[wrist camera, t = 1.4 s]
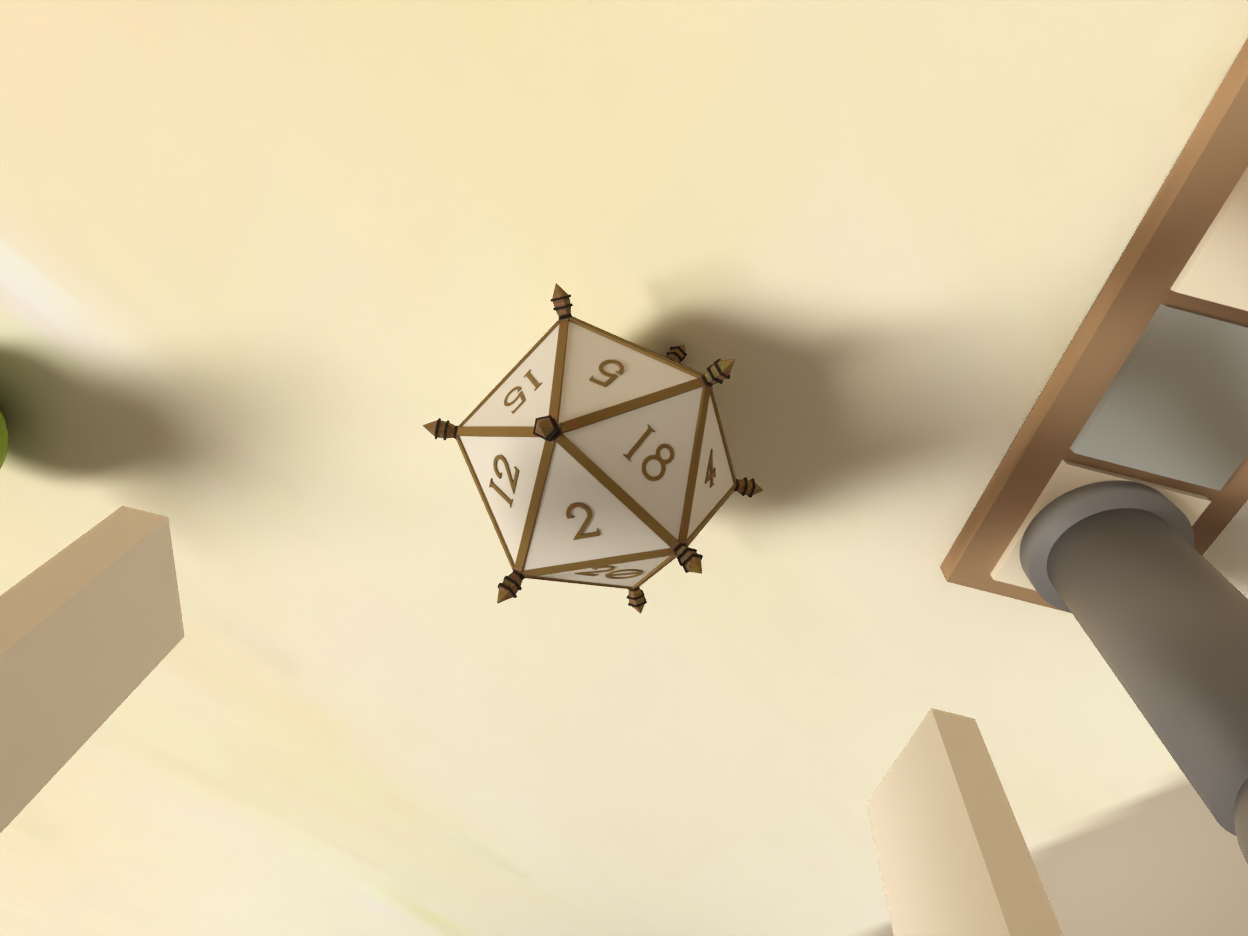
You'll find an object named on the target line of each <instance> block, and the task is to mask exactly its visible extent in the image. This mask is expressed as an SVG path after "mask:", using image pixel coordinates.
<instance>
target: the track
mask: <svg viewBox="0 0 1248 936" xmlns="http://www.w3.org/2000/svg"><path fill="white" fill-rule="evenodd" d="M1112 480H1122V481H1132V482H1137V483H1141V484H1144V485H1147V486H1150V487H1152V488H1154V489H1156V490H1157V491H1159V492H1160V493H1162V494H1163V495H1164V496H1165V497H1167V498H1168V499H1169V500H1170V501H1171V502H1172V503H1173V504H1174V505H1175V506H1177V507H1178V508H1179V509H1180V510H1181V511H1182V512H1183V513H1184V514H1185V515H1186V517H1187V518H1188V520H1189V521H1190V524H1191V526H1192V528H1193V533H1194V547H1193V548H1194V549H1195V550H1196V551H1197V552H1198V553H1199V554H1200V555H1201V556H1202V555H1203V554H1204V552H1205V551H1206V550H1207V549H1208V548H1209V546H1210V545H1211V544H1212V543H1213V541H1214V540H1215V539H1216V538H1217V536H1218V535H1219V534H1220V533H1221V532H1222V530H1223V529H1224V528H1225V527H1226V525H1227V524H1228V523H1229V522H1230V520H1231V519H1232V518H1233V517H1234V516H1235V514H1236V513H1237V512H1238V511H1239V509H1240V508H1241V507H1242V506H1243V505H1244V503H1245V502H1246V501H1247V500H1248V39H1247V41H1246V42H1245V44H1244V46H1243V47H1242V49H1241V51H1240V53H1239V54H1238V56H1237V58H1236V59H1235V61H1234V63H1233V65H1232V66H1231V68H1230V70H1229V72H1228V73H1227V75H1226V77H1225V78H1224V80H1223V82H1222V84H1221V85H1220V87H1219V89H1218V90H1217V92H1216V94H1215V96H1214V97H1213V99H1212V101H1211V102H1210V104H1209V106H1208V108H1207V109H1206V111H1205V113H1204V115H1203V116H1202V118H1201V120H1200V121H1199V123H1198V125H1197V127H1196V128H1195V130H1194V132H1193V133H1192V135H1191V137H1190V139H1189V140H1188V142H1187V144H1186V145H1185V147H1184V149H1183V151H1182V152H1181V154H1180V156H1179V158H1178V159H1177V161H1176V163H1175V164H1174V166H1173V168H1172V170H1171V171H1170V173H1169V175H1168V176H1167V178H1166V180H1165V182H1164V183H1163V185H1162V187H1161V188H1160V190H1159V192H1158V194H1157V195H1156V197H1155V199H1154V201H1153V202H1152V204H1151V206H1150V207H1149V209H1148V211H1147V213H1146V214H1145V216H1144V218H1143V219H1142V221H1141V223H1140V225H1139V226H1138V228H1137V230H1136V231H1135V233H1134V235H1133V237H1132V238H1131V240H1130V242H1129V243H1128V245H1127V247H1126V249H1125V250H1124V252H1123V254H1122V256H1121V257H1120V259H1119V261H1118V262H1117V264H1116V266H1115V268H1114V269H1113V271H1112V273H1111V274H1110V276H1109V278H1108V280H1107V281H1106V283H1105V285H1104V286H1103V288H1102V290H1101V292H1100V293H1099V295H1098V297H1097V299H1096V300H1095V302H1094V304H1093V305H1092V307H1091V309H1090V311H1089V312H1088V314H1087V316H1086V317H1085V319H1084V321H1083V323H1082V324H1081V326H1080V328H1079V329H1078V331H1077V333H1076V335H1075V336H1074V338H1073V340H1072V342H1071V343H1070V345H1069V347H1068V348H1067V350H1066V352H1065V354H1064V355H1063V357H1062V359H1061V360H1060V362H1059V364H1058V366H1057V367H1056V369H1055V371H1054V372H1053V374H1052V376H1051V378H1050V379H1049V381H1048V383H1047V384H1046V386H1045V388H1044V390H1043V391H1042V393H1041V395H1040V397H1039V398H1038V400H1037V402H1036V403H1035V405H1034V407H1033V409H1032V410H1031V412H1030V414H1029V415H1028V417H1027V419H1026V421H1025V422H1024V424H1023V426H1022V427H1021V429H1020V431H1019V433H1018V434H1017V436H1016V438H1015V440H1014V441H1013V443H1012V445H1011V446H1010V448H1009V450H1008V452H1007V453H1006V455H1005V457H1004V458H1003V460H1002V462H1001V464H1000V465H999V467H998V469H997V470H996V472H995V474H994V476H993V477H992V479H991V481H990V483H989V484H988V486H987V488H986V489H985V491H984V493H983V495H982V496H981V498H980V500H979V501H978V503H977V505H976V507H975V508H974V510H973V512H972V513H971V515H970V517H969V519H968V520H967V522H966V524H965V525H964V527H963V529H962V531H961V532H960V534H959V536H958V538H957V539H956V541H955V543H954V544H953V546H952V548H951V550H950V551H949V553H948V555H947V556H946V558H945V560H944V562H943V563H942V565H941V567H940V568H941V570H942V572H943V574H944V576H945V578H946V580H947V582H951V583H955V584H959V585H963V586H967V587H971V588H975V589H979V590H983V591H987V592H991V593H995V594H999V595H1003V596H1006V597H1010V598H1014V599H1018V600H1022V601H1026V602H1030V603H1034V604H1038V605H1042V606H1046V607H1050V608H1054V609H1058V610H1061V609H1059V608H1057V607H1054V606H1053V605H1051V604H1050V603H1048V602H1047V601H1045V600H1044V599H1043V598H1042V597H1041V596H1040V595H1039V594H1038V592H1037V591H1036V590H1035V588H1034V587H1033V585H1032V584H1031V582H1030V581H1029V579H1028V577H1027V576H1026V574H1025V572H1024V571H1023V568H1022V566H1021V562H1020V545H1021V540H1022V537H1023V535H1024V532H1025V530H1026V529H1027V527H1028V525H1029V524H1030V522H1031V521H1032V520H1033V518H1034V517H1035V516H1036V515H1037V514H1038V513H1039V512H1040V511H1041V510H1042V509H1043V508H1044V507H1045V506H1046V505H1047V504H1049V503H1050V502H1052V501H1053V500H1054V499H1056V498H1058V497H1059V496H1061V495H1063V494H1065V493H1066V492H1069V491H1071V490H1073V489H1075V488H1078V487H1081V486H1084V485H1087V484H1092V483H1096V482H1102V481H1112ZM1062 611H1064V610H1062ZM1065 612H1067V611H1065ZM1069 613H1071V612H1069Z"/></svg>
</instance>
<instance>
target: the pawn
mask: <svg viewBox="0 0 1248 936" xmlns="http://www.w3.org/2000/svg"><path fill="white" fill-rule="evenodd" d="M1193 547H1194V533H1193V528H1192V526H1191V524H1190V521H1189V520H1188V518H1187V517H1186V515H1185V514H1184V513H1183V512H1182V511H1181V510H1180V509H1179V508H1178V507H1177V506H1175V505H1174V504H1173V503H1172V502H1171V501H1170V500H1169V499H1168V498H1167V497H1165V496H1164V495H1163V494H1162V493H1160V492H1159V491H1157V490H1156V489H1154V488H1152V487H1150V486H1147V485H1144V484H1141V483H1137V482H1132V481H1122V480H1112V481H1102V482H1096V483H1092V484H1087V485H1084V486H1081V487H1078V488H1075V489H1073V490H1071V491H1069V492H1066V493H1065V494H1063V495H1061V496H1059V497H1058V498H1056V499H1054V500H1053V501H1052V502H1050V503H1049V504H1047V505H1046V506H1045V507H1044V508H1043V509H1042V510H1041V511H1040V512H1039V513H1038V514H1037V515H1036V516H1035V517H1034V518H1033V520H1032V521H1031V522H1030V524H1029V525H1028V527H1027V529H1026V530H1025V532H1024V535H1023V537H1022V540H1021V545H1020V562H1021V566H1022V568H1023V571H1024V572H1025V574H1026V576H1027V577H1028V579H1029V581H1030V582H1031V584H1032V585H1033V587H1034V588H1035V590H1036V591H1037V592H1038V594H1039V595H1040V596H1041V597H1042V598H1043V599H1044V600H1045V601H1047V602H1048V603H1050V604H1051V605H1053V606H1054V607H1057V608H1059V609H1061V610H1064V611H1067V612H1071V613H1072V614H1073V615H1074V616H1075V618H1076V619H1077V621H1078V622H1079V624H1080V625H1081V627H1082V628H1083V629H1084V631H1085V632H1086V634H1087V635H1088V637H1089V638H1090V639H1091V641H1092V642H1093V644H1094V645H1095V647H1096V648H1097V649H1098V651H1099V652H1100V654H1101V655H1102V657H1103V658H1104V660H1105V661H1106V662H1107V664H1108V665H1109V667H1110V668H1111V670H1112V671H1113V672H1114V674H1115V675H1116V677H1117V678H1118V680H1119V681H1120V682H1121V684H1122V685H1123V687H1124V688H1125V690H1126V691H1127V693H1128V694H1129V695H1130V697H1131V698H1132V700H1133V701H1134V703H1135V704H1136V705H1137V707H1138V708H1139V710H1140V711H1141V713H1142V714H1143V716H1144V717H1145V718H1146V720H1147V721H1148V723H1149V724H1150V726H1151V727H1152V728H1153V730H1154V731H1155V733H1156V734H1157V736H1158V737H1159V738H1160V740H1161V741H1162V743H1163V744H1164V746H1165V747H1166V749H1167V750H1168V751H1169V753H1170V754H1171V756H1172V757H1173V759H1174V760H1175V761H1176V763H1177V764H1178V766H1179V767H1180V769H1181V770H1182V772H1183V773H1184V774H1185V776H1186V777H1187V779H1188V780H1189V782H1190V783H1191V784H1192V786H1193V787H1194V789H1195V790H1196V791H1197V793H1198V794H1199V796H1200V797H1201V799H1202V800H1203V802H1204V803H1205V805H1206V806H1207V807H1208V809H1209V810H1210V812H1211V813H1212V814H1213V816H1214V817H1215V819H1216V820H1217V822H1218V823H1219V824H1220V825H1221V826H1222V827H1223V828H1224V829H1226V830H1227V831H1228V832H1230V833H1232V834H1233V835H1235V836H1237V839H1238V843H1239V846H1240V849H1241V851H1242V853H1243V855H1244V857H1245V859H1246V861H1247V863H1248V599H1247V598H1246V597H1245V596H1244V595H1243V594H1241V593H1240V592H1239V591H1238V590H1237V589H1236V588H1235V587H1234V586H1233V585H1232V584H1231V583H1230V582H1229V581H1228V580H1227V579H1226V578H1225V577H1224V576H1222V575H1221V574H1220V573H1219V572H1218V571H1217V570H1216V569H1215V568H1214V567H1213V566H1212V565H1211V564H1210V563H1209V562H1208V561H1207V560H1206V559H1204V558H1203V557H1202V556H1201V555H1200V554H1199V553H1198V552H1197V551H1196V550H1195V549H1194V548H1193Z"/></svg>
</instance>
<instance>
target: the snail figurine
mask: <svg viewBox="0 0 1248 936" xmlns="http://www.w3.org/2000/svg"><path fill="white" fill-rule="evenodd" d="M7 449H8V430H7V426H6V422H5V419H4V417H3V414H2V412H1V411H0V469H1V467H2V465H3V463H4V460H5V457H6V454H7Z"/></svg>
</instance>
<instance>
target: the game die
mask: <svg viewBox="0 0 1248 936" xmlns="http://www.w3.org/2000/svg"><path fill="white" fill-rule="evenodd" d="M569 297H571V295H568V294H567V293H566V292H565V291H564V290H563V289H562V288H561V287H560V286H559V285H558V284H556V285H555V290H554V294H553V298H552V299H551V302H552V301H553V304H554V307H555V308H553V309H554V310H556V312H557V314H558V315H559V320H558V321H557V322H556V323H555V324H554V325H553V326H552V327H551V328H550V329H549V331H548V332H547V333H546V334H545V335H544V336H543V337H542V338H541V339H540V340H539V341H538V342H537V343H536V344H535V345H534V346H533V348H532V349H531V350H530V351H529V352H528V353H527V354H526V355H525V356H524V357H523V358H522V359H521V360H520V361H519V362H518V363H517V365H516V366H515V367H514V368H513V369H512V370H511V371H510V372H509V373H508V374H507V375H506V376H505V377H504V378H503V379H502V380H501V382H500V383H499V384H498V385H497V386H496V387H495V388H494V389H493V390H492V391H491V392H490V393H489V394H488V395H487V396H486V398H485V399H484V400H483V401H482V402H481V403H480V404H479V405H478V406H477V407H476V408H475V409H474V410H473V411H472V412H471V413H470V415H469V416H468V417H467V418H466V419H465V420H464V421H463V422H462V423H461V424H460V425H459V426H455V425H453V424H451V423H449V421H447V422H445V421H441V419H440V418H439V419H438V420H437V421H434V422H431V423H428V424H425V425H423V426H424V427H425V428H426V429H427V430H428V431H429V432H430V433H431V434H433V435H434V436H435V439H437V437H439V438H444V440H446V438H455V439H456V440H457V442H458V445H459V447H460V449H461V451H462V454H463V456H464V458H465V461H466V463H467V465H468V468H469V470H470V472H471V475H472V477H473V479H474V481H475V484H476V486H477V488H478V491H479V493H480V495H481V498H482V500H483V502H484V505H485V507H486V509H487V512H488V514H489V516H490V518H491V521H492V523H493V525H494V528H495V530H496V532H497V535H498V537H499V539H500V542H501V544H502V546H503V549H504V551H505V553H506V555H507V558H508V560H509V562H510V565H511V567H512V569H513V573H511V574H510V575H509V576H505V578H504V581H503V583H499V585H498V588H499V593H498V601H497V603H500V602H502V601H505V600H507V599H510V598H512V597H514V598H516V597H517V596H516V593H517V591H518V590H521V589H522V588H521V587H520V586H521V583H522V580H523V579H524V578H531V579H540V580H549V581H559V582H568V583H578V584H587V585H597V586H606V587H615V588H625V589H628V590H629V595H628V596H627V599H629V603H628V605H629V606H632V607H633V608H635V609H636V610H637V611H638V612H639V613H641V612H642V609H643V607H644V604H645V603H647V602H646V599H645V597H643V596H644V593H643V591H642V590H640V588H639V586H641V585H642V584H643V583H644V582H646V581H647V580H648V579H649V578H651V577H652V576H653V575H654V574H656V573H657V572H658V571H659V570H661V569H662V568H663V567H664V566H666V565H667V564H668V563H670V562H671V561H672V560H673V559H675V558H676V557H677V556H678V557H677V559H678V561H679V564H680V565H681V566H683V568H684V570H685V572H686V573H687V572H695V573H701V574H702V567H701V559H702V557H703V556H702V555H699V554H697V553H696V551H697V550H696V549H692V548H689V547H688V546H689V544H690V543H691V542H692V541H693V540H694V538H695V537H696V536H697V535H698V534H699V532H700V531H701V530H702V529H703V528H704V526H705V525H706V524H707V523H708V521H709V520H710V519H711V518H712V517H713V515H714V514H715V513H716V512H717V511H718V509H719V508H720V507H721V506H722V505H723V503H724V502H725V501H726V500H727V499H728V497H729V496H730V495H731V494H732V493H733V491H738V492H739V493H740V494H741V495H743V496H744V495H748V496H749V497H752V495H754V494H757V493H759V492H761V491H763V490H762V489H761V488H760V487H759V486H758V484H757V483H756V482H755V481H754V479H753V478H752V479H751V480H748V479H747V478H744V479H741V480H737V479H736V477H735V474H734V470H733V466H732V462H731V458H730V455H729V451H728V447H727V443H726V439H725V435H724V432H723V428H722V424H721V420H720V416H719V413H718V409H717V405H716V401H715V397H714V393H713V390H712V385H713V384H716V383H720V384H722V383H723V380H724V379H726V378H727V379H729V378H730V372H731V369H732V366H733V363H734V360H735V359H733V360H720V359H718V360H717V361H715V362H714V365H711V366H710V367H708V368H707V370H708V371H707V372H706V373H705V374H702V373H700V372H697V371H695V370H693V369H691V368H688V367H686V366H684V365H681V364H680V363H681V361H683V359H684V358H685V356H686V355H687V354H686V353H685V347H684V345H682V346H677V347H671V348H670V350H671V351H670V352H668V353H667V356H668V357H667V358H666V357H663V356H661V355H659V354H656V353H654V352H652V351H650V350H647V349H645V348H643V347H641V346H638V345H636V344H634V343H631V342H629V341H627V340H625V339H622V338H620V337H618V336H616V335H613V334H611V333H609V332H606V331H604V330H602V329H600V328H597V327H595V326H593V325H590V324H588V323H586V322H584V321H581V320H579V319H577V318H575V317H572V315H571V306H573V305H572V304H570V299H569Z"/></svg>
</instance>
